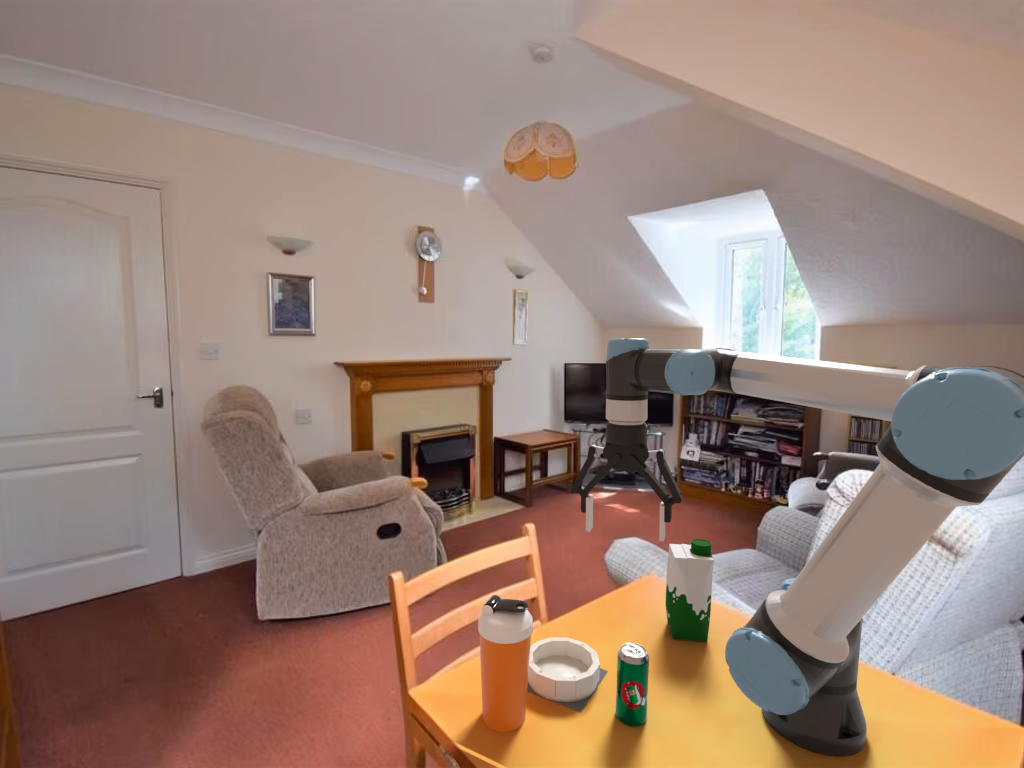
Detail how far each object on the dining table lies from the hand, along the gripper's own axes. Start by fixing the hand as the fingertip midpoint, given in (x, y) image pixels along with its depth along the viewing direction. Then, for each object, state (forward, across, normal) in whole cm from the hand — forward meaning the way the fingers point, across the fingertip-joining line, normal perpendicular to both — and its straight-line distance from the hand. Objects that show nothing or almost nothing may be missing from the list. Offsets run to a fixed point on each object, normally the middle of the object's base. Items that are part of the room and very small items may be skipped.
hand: (624, 534), depth 101 cm
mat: (+26, +10, +8) cm, 29 cm away
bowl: (+26, +10, +8) cm, 29 cm away
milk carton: (+26, -10, -18) cm, 34 cm away
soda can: (+27, -4, +13) cm, 30 cm away
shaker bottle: (+26, +16, +22) cm, 37 cm away
